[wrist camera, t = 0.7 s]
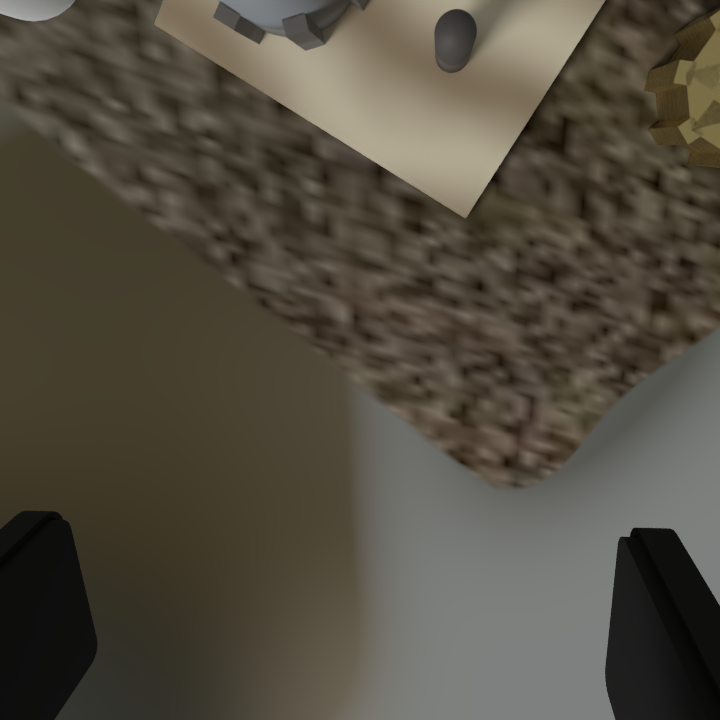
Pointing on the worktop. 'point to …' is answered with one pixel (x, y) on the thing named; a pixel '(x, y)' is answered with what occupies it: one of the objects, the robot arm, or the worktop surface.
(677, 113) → the brass gear
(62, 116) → the worktop surface
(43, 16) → the cylindrical container
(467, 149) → the gear board
